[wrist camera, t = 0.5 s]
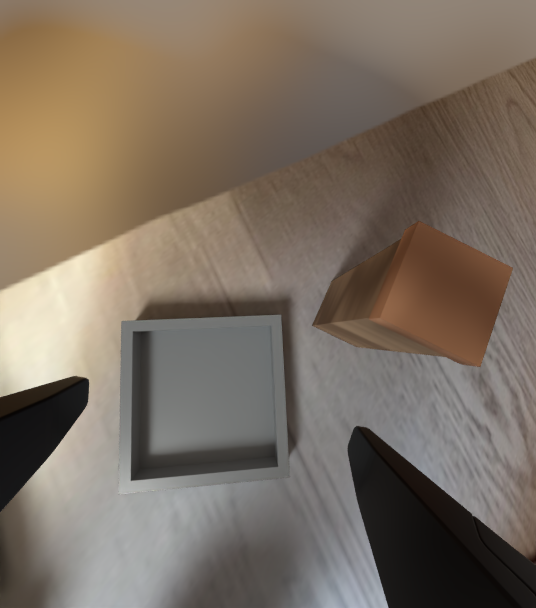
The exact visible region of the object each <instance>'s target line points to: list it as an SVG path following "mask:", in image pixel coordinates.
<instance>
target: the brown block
mask: <svg viewBox="0 0 536 608" xmlns="http://www.w3.org/2000/svg"><path fill="white" fill-rule="evenodd" d="M512 270H513V268H512V267H510V266H508V265H506V264H504V263H502V262H500V261H498V260H496V259H494V258H492V257H490V256H488V255H486V254H484V253H482V252H480V251H478V250H476V249H474V248H472V247H470V246H468V245H466V244H464V243H462V242H460V241H458V240H456V239H454V238H452V237H450V236H448V235H446V234H444V233H442V232H440V231H438V230H436V229H434V228H432V227H430V226H428V225H426V224H424V223H422V222H420V221H418V222H416V223H415V224H413V225H412V226H410V227H409V228H407V229H406V230H405V231H404V234H403V236H402V239H400V240H399V241H397V242H395V243H394V244H392V245H391V246H389V247H387V248H386V249H384V250H382V251H381V252H379V253H377V254H376V255H374V256H373V257H371V258H369V259H368V260H366V261H364V262H363V263H361V264H359V265H358V266H356V267H355V268H353V269H351V270H350V271H348V272H346V273H345V274H343V275H342V276H340V277H338V278H337V279H335V280H333V281H332V282H331V284H330V286H329V289H328V291H327V293H326V295H325V298H324V300H323V302H322V304H321V307H320V309H319V311H318V313H317V316H316V318H315V320H314V322H313V325H312V326H314V327H316V328H318V329H320V330H322V331H324V332H327V333H329V334H331V335H333V336H335V337H337V338H339V339H341V340H343V341H345V342H347V343H349V344H351V345H354V346H356V347H361V348H370V349H379V350H388V351H397V352H406V353H415V354H424V355H433V356H442V357H447V358H449V359H451V360H453V361H455V362H457V363H459V364H463V365H470V366H477V367H480V366H481V363H482V360H483V357H484V354H485V351H486V348H487V345H488V342H489V339H490V336H491V333H492V330H493V327H494V324H495V321H496V318H497V315H498V312H499V309H500V306H501V303H502V300H503V297H504V294H505V291H506V288H507V285H508V282H509V279H510V276H511V273H512Z"/></svg>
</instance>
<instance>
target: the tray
mask: <svg viewBox="0 0 536 608" xmlns="http://www.w3.org/2000/svg"><path fill="white" fill-rule="evenodd" d="M288 477H290V475H289V456H288V437H287V418H286V398H285V379H284V360H283V341H282V322H281V315H261V316H236V317H211V318H186V319H161V320H136V321H122V322H121V379H120V435H119V491H118V495H119V494H129V493H139V492H149V491H159V490H169V489H179V488H188V487H198V486H208V485H218V484H228V483H238V482H248V481H258V480H268V479H278V478H288Z"/></svg>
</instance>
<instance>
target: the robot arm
mask: <svg viewBox="0 0 536 608" xmlns="http://www.w3.org/2000/svg"><path fill="white" fill-rule="evenodd" d="M88 394H89V380H88V379H87V378H84V377H78V376H72V377H69V378H65V379H62V380H59V381H55V382H52V383H48V384H45V385H41V386H38V387H35V388H31V389H28V390H24V391H21V392H17V393H14V394H10V395H7V396H4V397H0V512H1V511H2V510H3V509H4V507H5V506H6V505H7V504H8V503H9V502H10V501H11V500H12V498H13V497H14V496H15V495H16V494H17V493H18V492H19V490H20V489H21V488H22V487H23V486H24V485H25V484H26V482H27V481H28V480H29V479H30V478H31V477H32V476H33V474H34V473H35V472H36V471H37V470H38V469H39V468H40V466H41V465H42V464H43V463H44V462H45V461H46V460H47V458H48V457H49V456H50V455H51V454H52V452H53V451H54V450H55V449H56V447H57V446H58V445H59V443H60V442H61V441H62V439H63V438H64V436H65V435H66V434H67V432H68V431H69V430H70V428H71V427H72V425H73V424H74V423H75V421H76V420H77V419H78V417H79V416H80V415H81V413H82V412H83V410H84V409H85V407H86V406H87V403H88ZM348 456H349V461H350V466H351V472H352V477H353V482H354V487H355V492H356V497H357V501H358V505H359V508H360V512H361V515H362V519H363V522H364V526H365V529H366V532H367V536H368V539H369V543H370V546H371V549H372V553H373V556H374V560H375V563H376V566H377V570H378V573H379V577H380V580H381V584H382V587H383V590H384V594H385V597H386V601H387V604H388V607H389V608H536V565H535V564H534V563H532V562H531V561H530V560H529V559H527V558H526V557H525V556H523V555H522V554H521V553H519V552H518V551H517V550H516V549H514V548H513V547H512V546H511V545H509V544H508V543H507V542H506V541H504V540H503V539H502V538H501V537H499V536H498V535H497V534H496V533H494V532H493V531H492V530H491V529H490V528H488V527H487V526H486V525H485V524H484V523H482V522H481V521H480V520H479V519H478V518H476V517H475V516H472V514H471V513H470V512H469V511H468V510H467V509H465V508H464V507H463V506H462V505H460V504H459V503H458V502H457V501H456V500H454V499H453V498H452V497H451V496H450V495H448V494H447V493H446V492H445V491H444V490H442V489H441V488H440V487H439V486H437V485H436V484H435V483H434V482H433V481H431V480H430V479H429V478H428V477H427V476H425V475H424V474H423V473H422V472H421V471H419V470H418V469H417V468H416V467H414V466H413V465H412V464H411V463H410V462H408V461H407V460H406V459H405V458H404V457H402V456H401V455H400V454H399V453H398V452H396V451H395V450H394V449H393V448H392V447H390V446H389V445H388V444H387V443H385V442H384V441H383V440H382V439H381V438H379V437H378V436H377V435H376V434H375V433H373V432H372V431H371V430H370V429H368V428H366V427H360V426H356V427H355V428H354V430H353V432H352V435H351V438H350V441H349V444H348Z"/></svg>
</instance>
